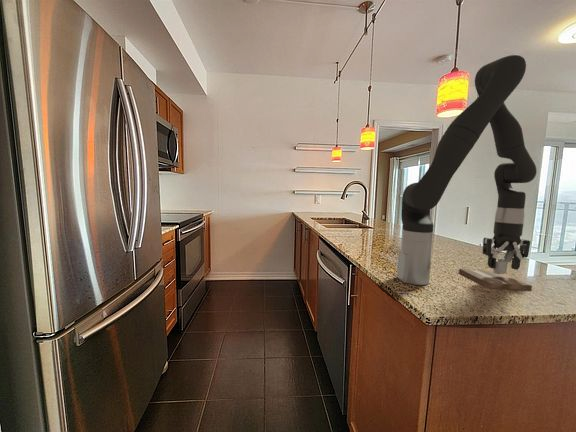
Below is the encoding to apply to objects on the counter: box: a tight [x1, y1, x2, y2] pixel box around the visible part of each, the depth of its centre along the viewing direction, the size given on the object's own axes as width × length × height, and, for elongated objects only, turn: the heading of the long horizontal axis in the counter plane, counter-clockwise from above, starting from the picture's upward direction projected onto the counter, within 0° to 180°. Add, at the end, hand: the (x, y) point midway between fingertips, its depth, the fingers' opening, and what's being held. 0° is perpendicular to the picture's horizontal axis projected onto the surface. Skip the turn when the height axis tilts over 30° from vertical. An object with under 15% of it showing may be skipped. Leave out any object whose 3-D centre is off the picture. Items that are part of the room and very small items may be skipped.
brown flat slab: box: [458, 268, 533, 291], centre depth 90 cm, size 13×16×2 cm
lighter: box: [493, 250, 514, 275], centre depth 89 cm, size 7×2×8 cm, turn 108°
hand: (503, 268), depth 90 cm, fingers closed on lighter, 7 cm apart
